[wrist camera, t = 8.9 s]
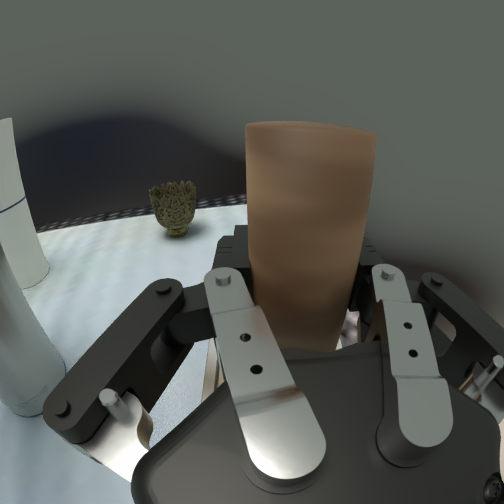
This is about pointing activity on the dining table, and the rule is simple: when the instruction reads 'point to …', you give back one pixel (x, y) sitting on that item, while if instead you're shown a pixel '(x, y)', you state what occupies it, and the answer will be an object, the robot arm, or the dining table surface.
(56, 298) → the dining table surface
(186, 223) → the cup
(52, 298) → the dining table surface
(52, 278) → the dining table surface
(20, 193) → the cylindrical container
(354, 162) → the dowel
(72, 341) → the dining table surface
